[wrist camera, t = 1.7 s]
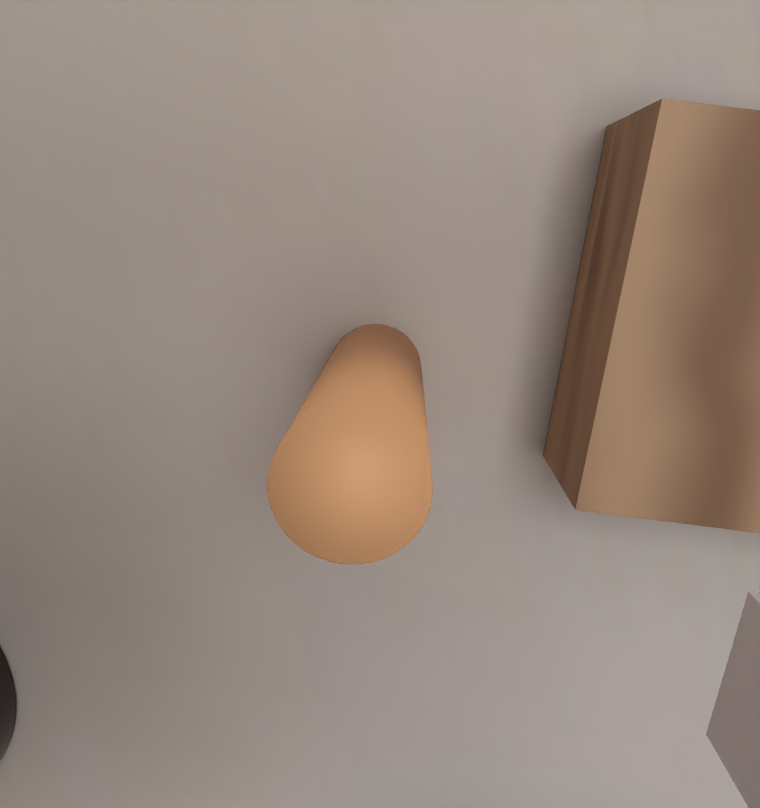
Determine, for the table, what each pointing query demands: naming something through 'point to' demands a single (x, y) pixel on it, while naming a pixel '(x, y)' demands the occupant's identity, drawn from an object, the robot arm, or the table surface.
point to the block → (667, 325)
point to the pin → (357, 453)
